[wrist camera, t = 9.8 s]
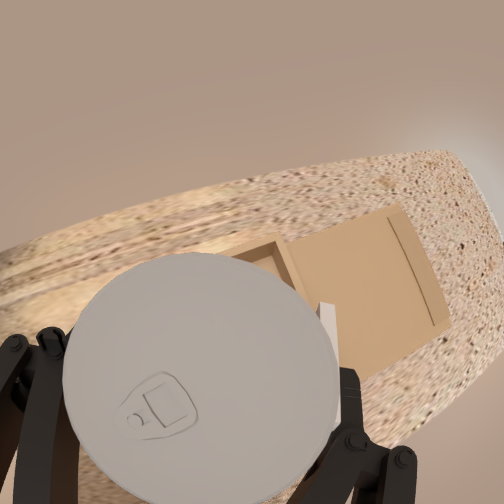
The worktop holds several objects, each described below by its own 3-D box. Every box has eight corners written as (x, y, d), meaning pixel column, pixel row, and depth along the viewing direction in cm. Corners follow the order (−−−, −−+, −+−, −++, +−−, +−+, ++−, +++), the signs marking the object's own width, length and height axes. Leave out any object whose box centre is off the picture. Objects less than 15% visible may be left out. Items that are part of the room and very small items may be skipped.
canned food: (140, 368, 17) (25, 383, 6) (221, 277, 19) (183, 194, 8) (230, 446, 15) (207, 552, 5) (314, 355, 17) (397, 368, 7)
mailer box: (182, 445, 21) (170, 463, 17) (130, 301, 25) (109, 292, 21) (450, 325, 24) (476, 320, 20) (397, 204, 28) (416, 183, 24)
